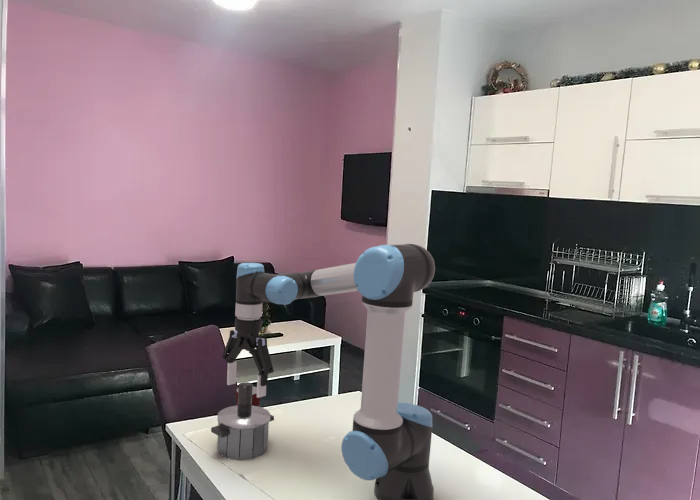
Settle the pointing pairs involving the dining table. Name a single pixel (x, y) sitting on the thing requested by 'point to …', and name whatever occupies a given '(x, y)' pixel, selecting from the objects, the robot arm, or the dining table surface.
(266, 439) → the pot
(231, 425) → the lid
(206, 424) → the dining table surface
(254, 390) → the mug
